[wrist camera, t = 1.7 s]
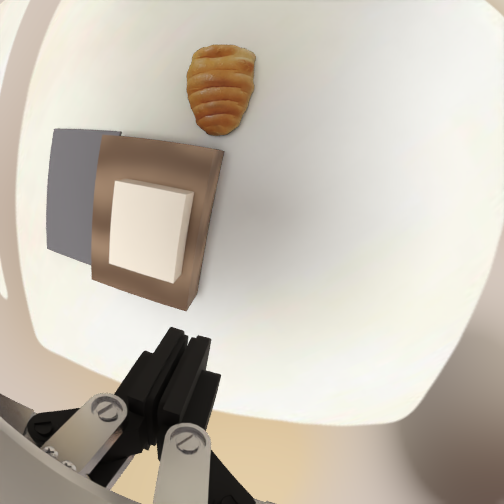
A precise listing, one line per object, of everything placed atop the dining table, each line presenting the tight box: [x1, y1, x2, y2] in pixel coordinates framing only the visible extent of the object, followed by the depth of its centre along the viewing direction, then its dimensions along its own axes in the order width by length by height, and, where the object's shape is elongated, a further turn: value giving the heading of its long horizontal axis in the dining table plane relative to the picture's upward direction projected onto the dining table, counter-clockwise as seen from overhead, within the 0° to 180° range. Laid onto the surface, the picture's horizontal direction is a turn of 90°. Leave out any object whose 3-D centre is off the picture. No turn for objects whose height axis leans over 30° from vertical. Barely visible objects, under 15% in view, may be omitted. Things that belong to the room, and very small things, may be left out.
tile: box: [109, 179, 194, 283], centre depth 24 cm, size 8×7×2 cm
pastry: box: [187, 45, 256, 136], centre depth 22 cm, size 9×7×4 cm
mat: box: [46, 129, 121, 265], centre depth 29 cm, size 17×12×1 cm
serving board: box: [91, 135, 224, 311], centre depth 27 cm, size 16×12×4 cm
